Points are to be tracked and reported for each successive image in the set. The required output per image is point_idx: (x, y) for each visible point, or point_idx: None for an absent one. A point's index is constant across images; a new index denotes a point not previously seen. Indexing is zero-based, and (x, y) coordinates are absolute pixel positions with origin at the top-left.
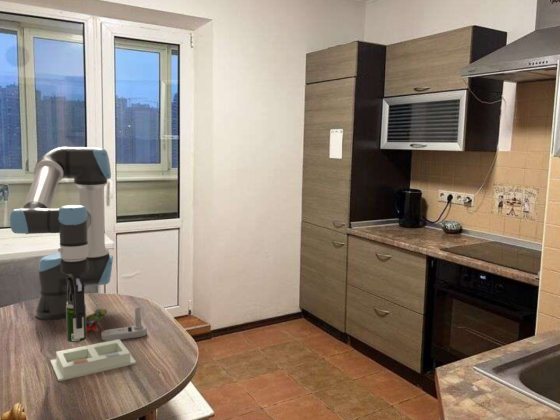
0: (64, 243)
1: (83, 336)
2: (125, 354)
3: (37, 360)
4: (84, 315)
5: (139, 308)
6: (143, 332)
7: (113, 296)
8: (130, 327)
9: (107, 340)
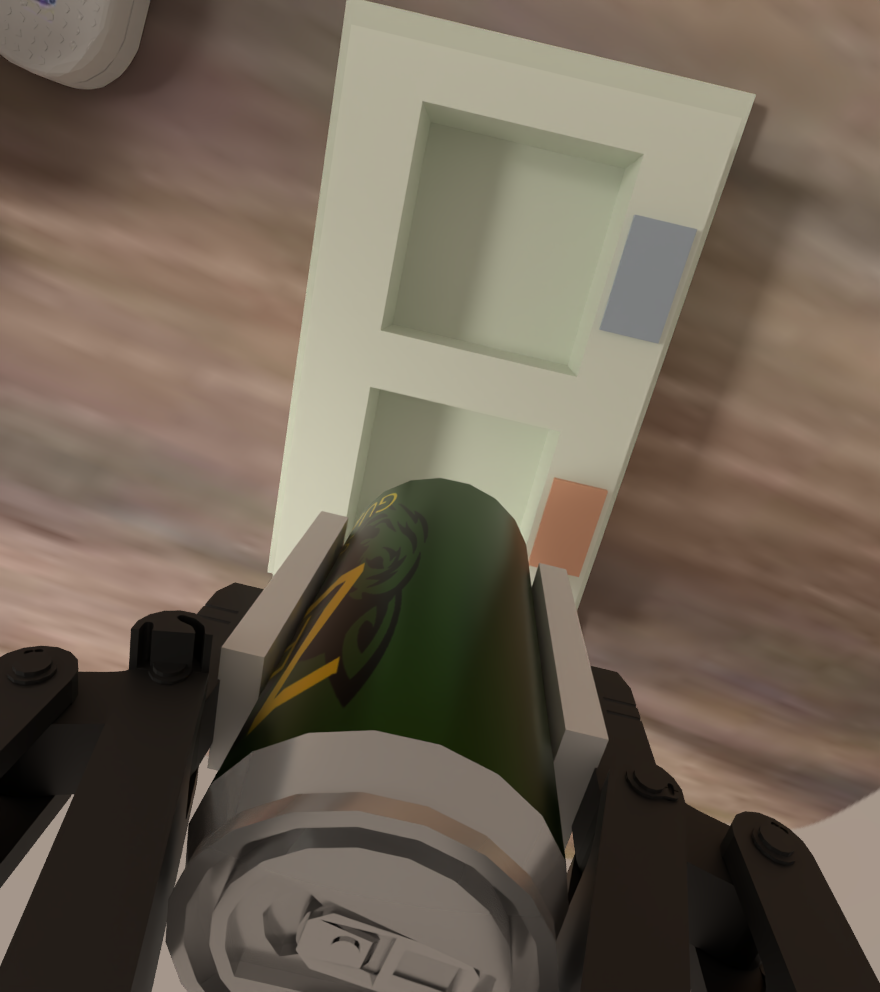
0: None
1: (564, 579)
2: (722, 171)
3: (199, 608)
4: (804, 856)
5: None
6: None
7: None
8: None
9: (129, 58)
